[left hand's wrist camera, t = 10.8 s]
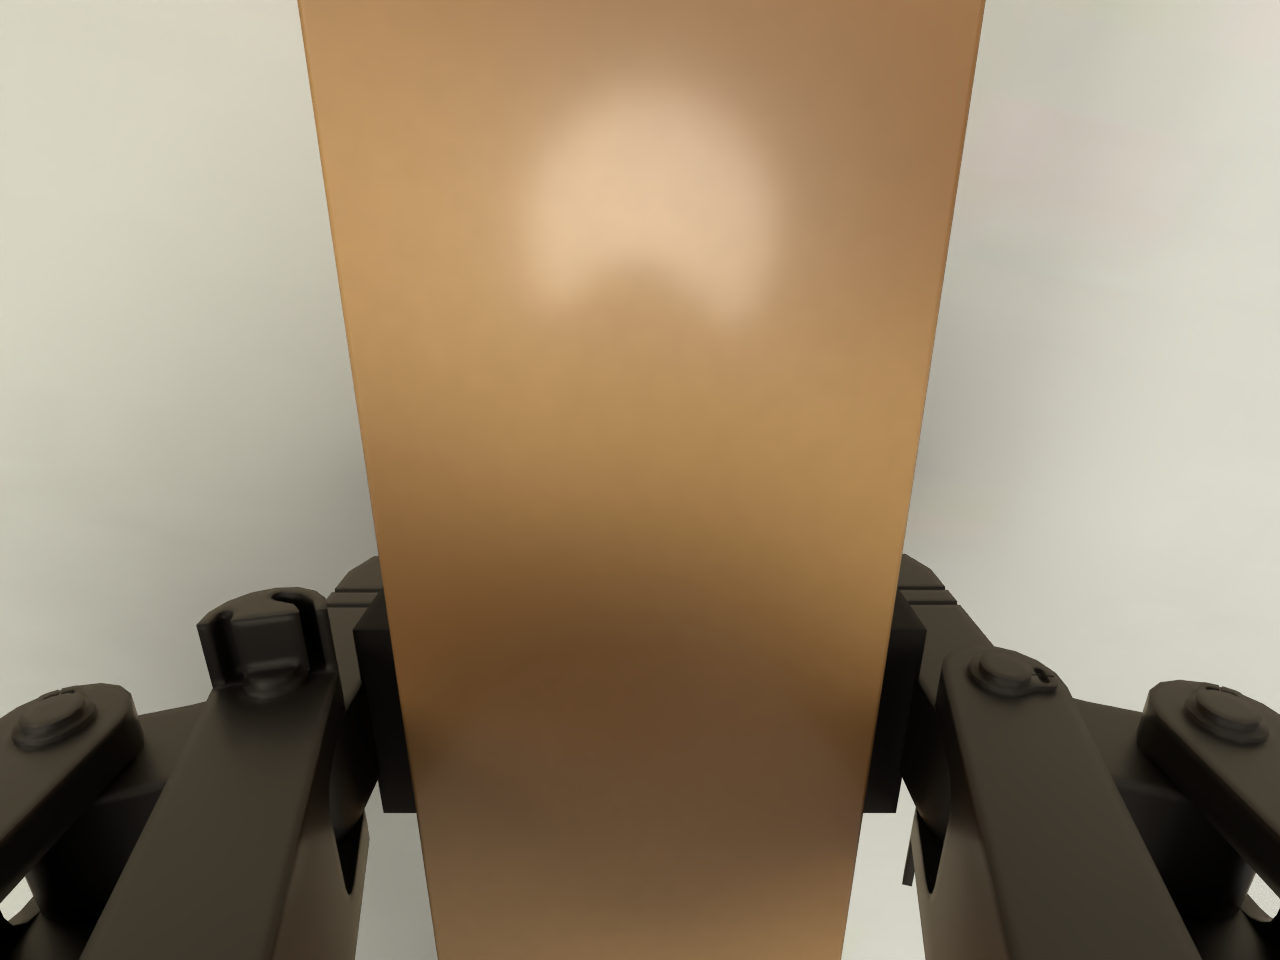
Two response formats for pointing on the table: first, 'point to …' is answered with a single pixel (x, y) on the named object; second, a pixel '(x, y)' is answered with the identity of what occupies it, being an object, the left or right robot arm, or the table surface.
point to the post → (640, 438)
